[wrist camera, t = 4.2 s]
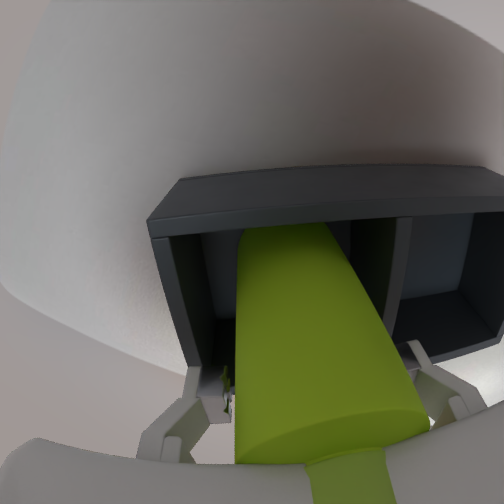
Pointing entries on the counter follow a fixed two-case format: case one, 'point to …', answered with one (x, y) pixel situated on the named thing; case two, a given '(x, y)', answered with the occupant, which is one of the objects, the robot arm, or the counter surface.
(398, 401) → the soap dispenser
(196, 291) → the storage box
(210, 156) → the counter surface
